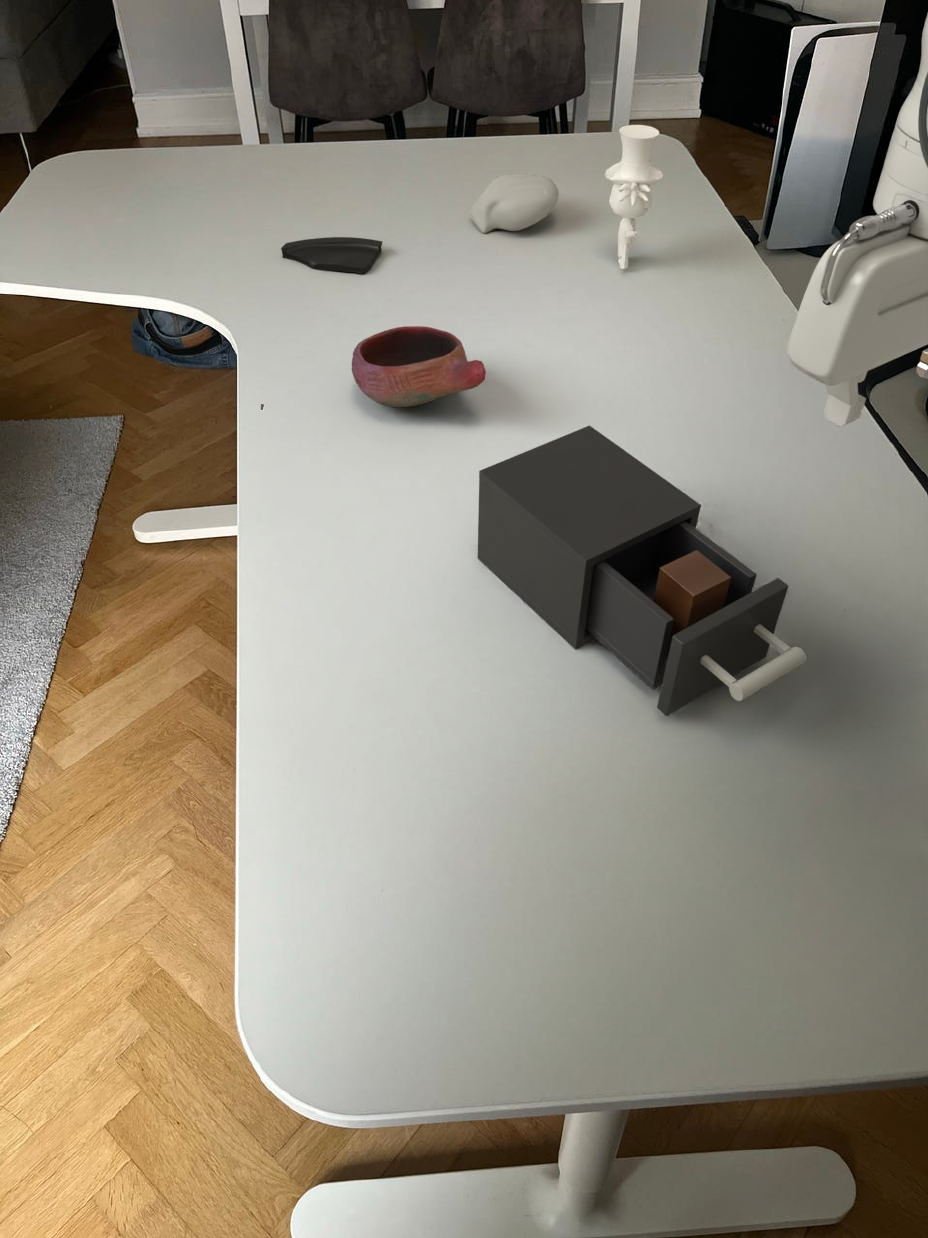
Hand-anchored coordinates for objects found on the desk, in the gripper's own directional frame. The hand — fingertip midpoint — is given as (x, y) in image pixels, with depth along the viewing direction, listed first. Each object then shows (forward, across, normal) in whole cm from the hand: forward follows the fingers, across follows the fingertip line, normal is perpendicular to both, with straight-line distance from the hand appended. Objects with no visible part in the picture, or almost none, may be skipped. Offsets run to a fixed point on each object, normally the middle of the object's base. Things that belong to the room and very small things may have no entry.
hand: (887, 397), depth 66 cm
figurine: (+27, +40, +68) cm, 83 cm away
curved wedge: (+27, +8, +92) cm, 97 cm away
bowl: (+27, -2, +54) cm, 61 cm away
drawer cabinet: (+27, -7, +20) cm, 34 cm away
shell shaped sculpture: (+27, +36, +88) cm, 99 cm away
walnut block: (+25, -7, +7) cm, 27 cm away
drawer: (+26, -7, +6) cm, 28 cm away
